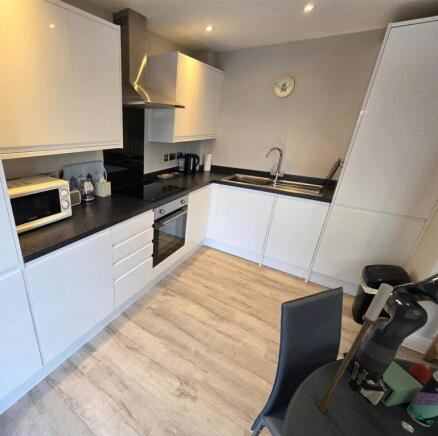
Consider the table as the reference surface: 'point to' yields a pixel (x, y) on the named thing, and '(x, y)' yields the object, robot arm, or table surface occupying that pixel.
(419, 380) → the onion
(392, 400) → the green drawer box
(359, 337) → the candlestick
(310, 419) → the table surface
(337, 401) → the table surface
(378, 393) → the fryer drawer
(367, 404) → the table surface
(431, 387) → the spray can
